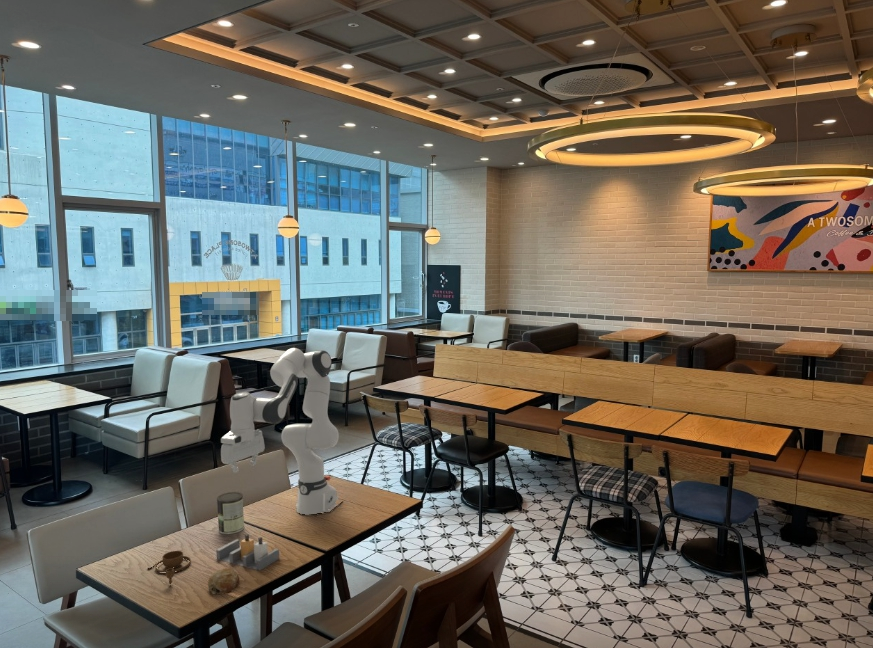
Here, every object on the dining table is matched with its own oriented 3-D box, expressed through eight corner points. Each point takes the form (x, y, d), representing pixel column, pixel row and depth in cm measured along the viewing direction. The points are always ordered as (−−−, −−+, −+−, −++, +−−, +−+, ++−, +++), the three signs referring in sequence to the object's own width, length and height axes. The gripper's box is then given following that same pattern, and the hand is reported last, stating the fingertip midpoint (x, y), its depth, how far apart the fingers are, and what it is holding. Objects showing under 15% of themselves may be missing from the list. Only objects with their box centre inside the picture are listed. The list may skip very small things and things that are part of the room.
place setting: (205, 561, 227) (204, 546, 226) (173, 588, 207) (172, 572, 207) (162, 558, 229) (161, 543, 229) (127, 585, 210) (125, 569, 209)
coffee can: (213, 533, 250) (211, 499, 249) (228, 523, 260) (226, 491, 259) (234, 535, 248) (233, 501, 246) (249, 525, 258) (247, 492, 256)
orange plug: (247, 556, 227) (246, 532, 226) (254, 557, 225) (253, 534, 224) (241, 559, 224) (240, 535, 223) (248, 561, 223) (247, 537, 222)
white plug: (260, 559, 224) (259, 535, 223) (267, 561, 222) (266, 537, 222) (254, 562, 221) (253, 538, 220) (262, 564, 220) (261, 540, 219)
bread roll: (206, 601, 204) (199, 586, 200) (219, 575, 213) (213, 560, 209) (234, 603, 203) (228, 587, 199) (245, 576, 212) (240, 561, 208)
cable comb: (237, 550, 234) (236, 539, 234) (279, 561, 224) (278, 549, 224) (216, 561, 225) (216, 549, 225) (260, 573, 216) (259, 560, 215)
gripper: (255, 427, 250) (257, 460, 252) (217, 439, 232) (219, 475, 233) (267, 428, 248) (269, 462, 249) (229, 441, 229) (231, 477, 230)
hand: (244, 468), depth 241 cm, fingers open, 8 cm apart
